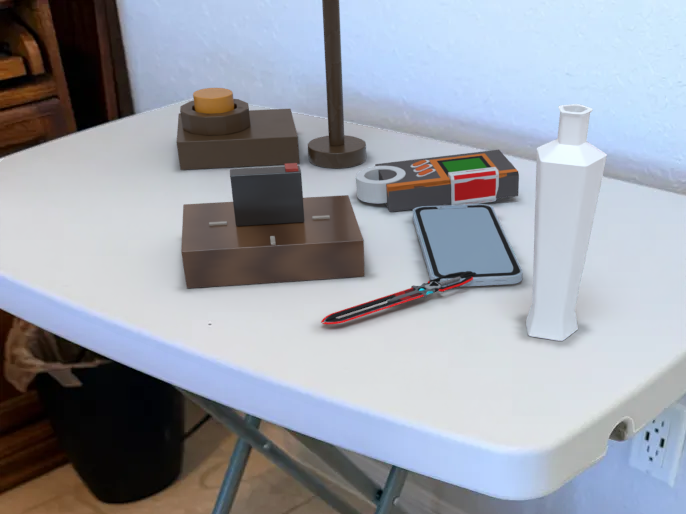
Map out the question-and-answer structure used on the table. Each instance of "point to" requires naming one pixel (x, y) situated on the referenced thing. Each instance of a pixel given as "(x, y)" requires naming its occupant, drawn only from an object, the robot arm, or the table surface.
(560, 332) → the white vase
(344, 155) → the lamp
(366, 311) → the toy sword
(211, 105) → the power button
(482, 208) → the smartphone
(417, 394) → the table surface
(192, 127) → the button base
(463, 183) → the electronic device
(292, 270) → the panel
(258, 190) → the dimmer knob
